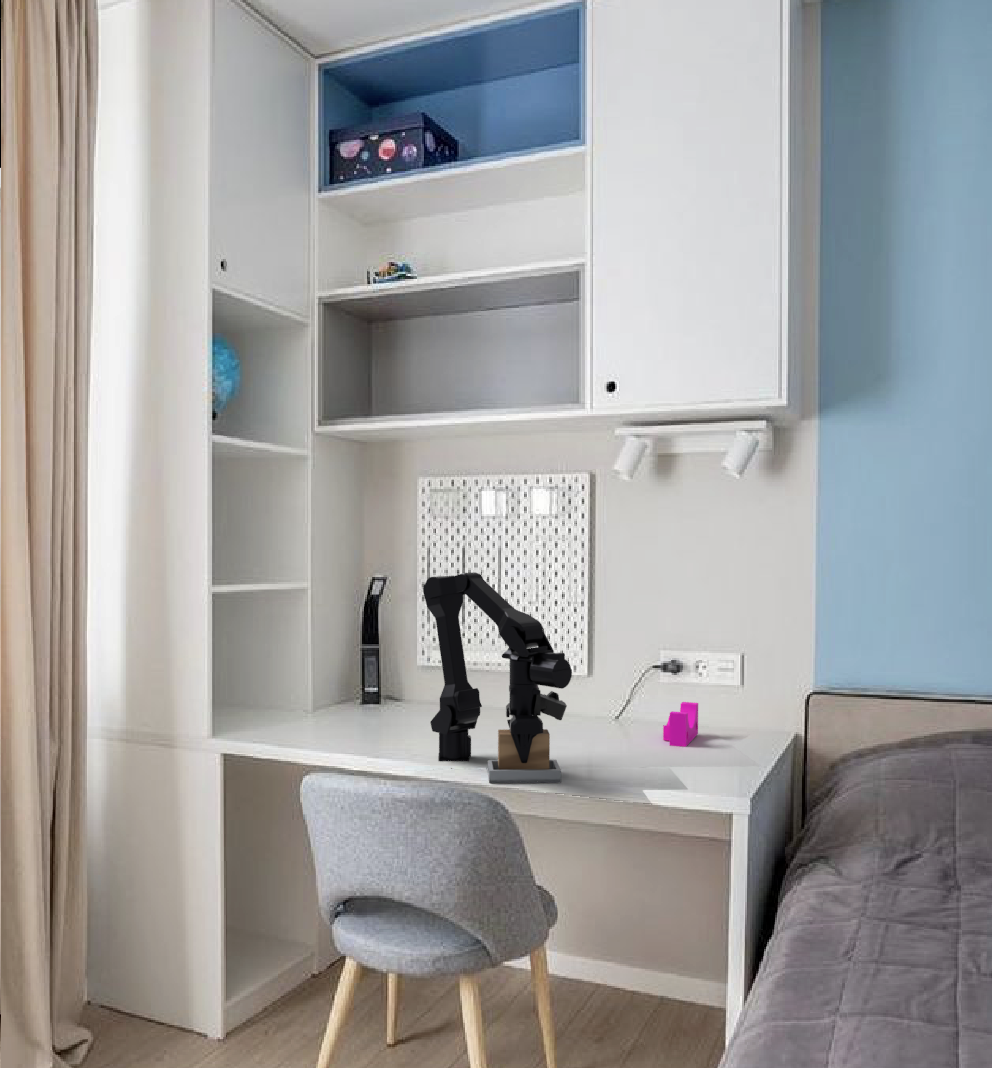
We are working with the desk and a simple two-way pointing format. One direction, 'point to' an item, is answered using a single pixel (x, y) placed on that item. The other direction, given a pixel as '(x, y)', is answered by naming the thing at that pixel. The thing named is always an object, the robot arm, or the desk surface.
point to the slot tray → (524, 774)
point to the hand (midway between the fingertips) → (523, 759)
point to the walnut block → (510, 756)
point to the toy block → (682, 725)
